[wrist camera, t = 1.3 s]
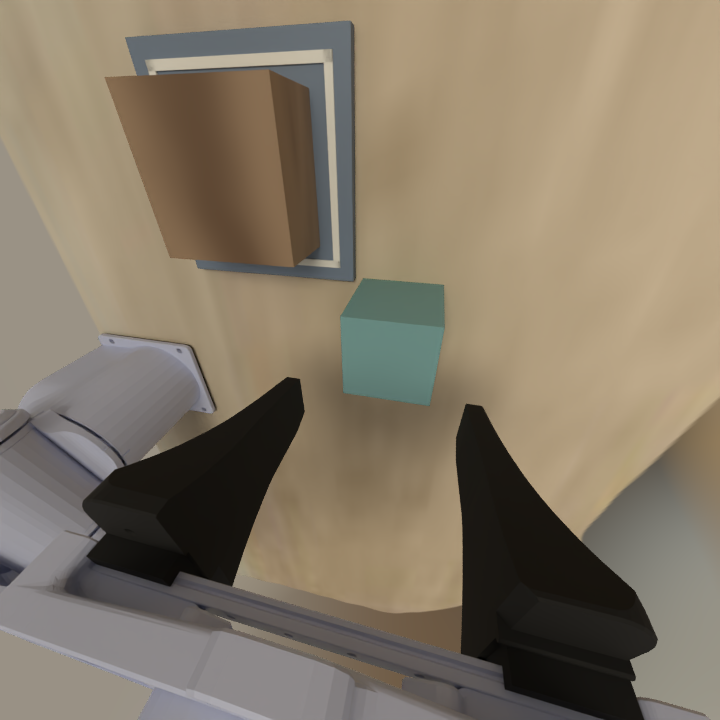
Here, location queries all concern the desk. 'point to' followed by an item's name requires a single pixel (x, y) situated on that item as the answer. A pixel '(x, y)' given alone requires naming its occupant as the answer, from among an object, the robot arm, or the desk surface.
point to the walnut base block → (225, 163)
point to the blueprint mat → (328, 116)
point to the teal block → (392, 340)
